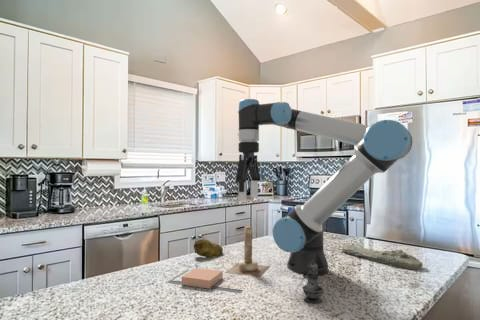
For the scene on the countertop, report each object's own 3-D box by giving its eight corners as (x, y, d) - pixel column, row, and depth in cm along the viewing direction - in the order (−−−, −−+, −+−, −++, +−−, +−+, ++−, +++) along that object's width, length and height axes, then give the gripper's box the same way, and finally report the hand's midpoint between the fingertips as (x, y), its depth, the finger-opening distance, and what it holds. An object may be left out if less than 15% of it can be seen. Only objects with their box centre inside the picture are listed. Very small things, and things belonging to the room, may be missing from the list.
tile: (222, 271, 115) (209, 280, 105) (222, 279, 115) (209, 289, 105) (196, 267, 118) (181, 276, 109) (196, 275, 118) (181, 285, 109)
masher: (260, 267, 127) (260, 226, 127) (254, 273, 120) (254, 229, 120) (242, 265, 129) (242, 224, 129) (235, 271, 123) (236, 228, 123)
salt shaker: (300, 297, 101) (300, 256, 102) (319, 296, 102) (319, 256, 102) (305, 305, 96) (305, 262, 96) (326, 304, 96) (325, 262, 96)
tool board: (270, 268, 128) (270, 266, 128) (260, 279, 116) (260, 276, 116) (238, 265, 133) (238, 262, 133) (225, 275, 121) (225, 272, 121)
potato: (225, 259, 141) (225, 240, 141) (194, 261, 138) (194, 241, 138) (221, 254, 149) (221, 236, 150) (192, 256, 146) (192, 237, 146)
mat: (254, 280, 115) (254, 278, 115) (240, 295, 102) (240, 293, 102) (187, 272, 124) (187, 270, 124) (166, 284, 111) (166, 282, 111)
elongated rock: (350, 252, 159) (336, 257, 153) (349, 241, 159) (336, 245, 153) (428, 266, 130) (415, 273, 125) (426, 253, 131) (414, 258, 125)
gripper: (249, 143, 138) (249, 196, 138) (226, 139, 115) (226, 202, 115) (267, 143, 136) (267, 196, 135) (247, 139, 112) (247, 203, 112)
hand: (248, 199), depth 125 cm, fingers open, 13 cm apart
